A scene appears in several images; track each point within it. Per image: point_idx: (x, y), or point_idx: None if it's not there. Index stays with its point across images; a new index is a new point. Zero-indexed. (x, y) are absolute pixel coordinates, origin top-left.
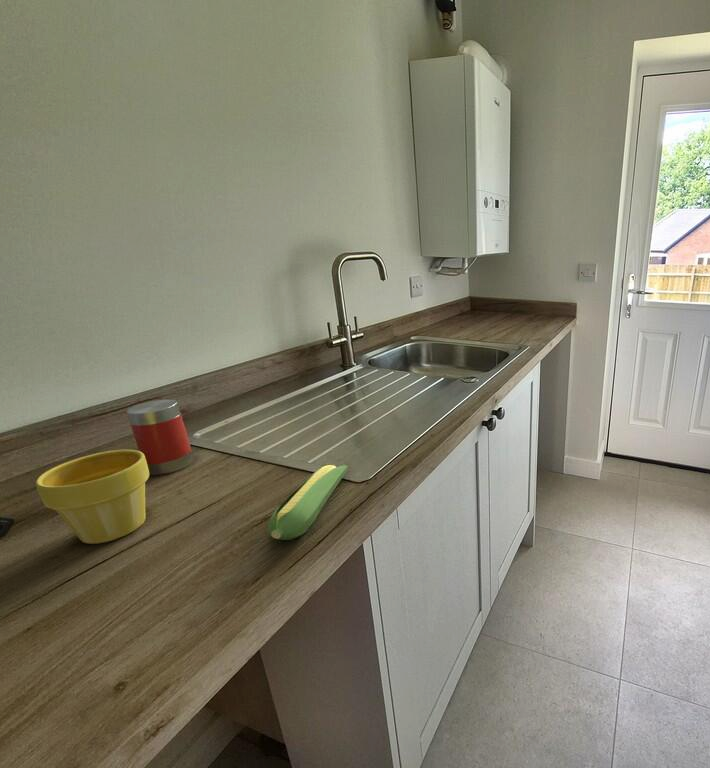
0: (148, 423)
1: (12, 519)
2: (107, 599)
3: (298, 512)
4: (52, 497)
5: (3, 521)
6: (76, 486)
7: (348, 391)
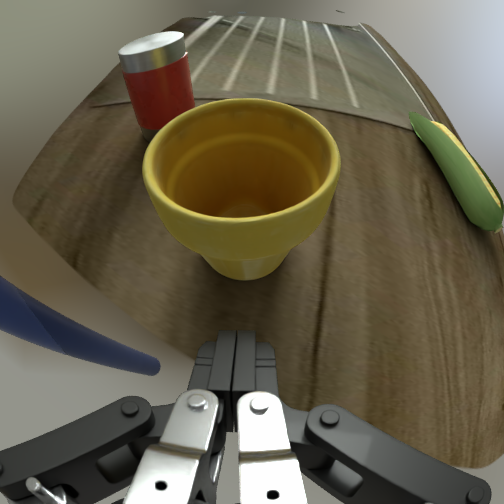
0: (163, 63)
1: (254, 331)
2: (410, 358)
3: (499, 199)
4: (254, 242)
5: (273, 354)
6: (313, 207)
7: (250, 31)
